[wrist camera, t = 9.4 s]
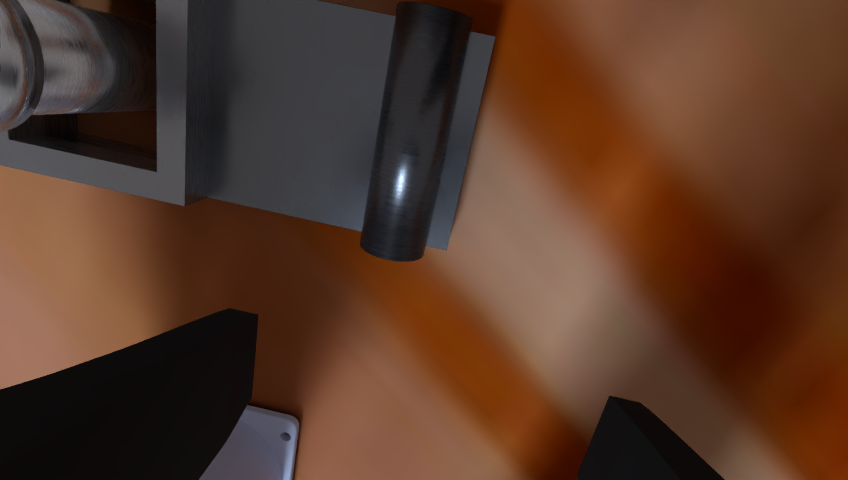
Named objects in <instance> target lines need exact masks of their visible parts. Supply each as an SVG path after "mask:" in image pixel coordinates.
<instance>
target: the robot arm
mask: <svg viewBox="0 0 848 480" xmlns="http://www.w3.org/2000/svg"><path fill="white" fill-rule="evenodd" d="M257 326H258V315H257V314H253V313H248V312H244V311H239V310H235V309H231V308H229V309H226V310H223V311H219V312H217V313H214V314H211V315H208V316H206V317H203V318H200V319H198V320H195V321H193V322H190V323H188V324H185V325H183V326H180V327H178V328H175V329H173V330H170V331H167V332H165V333H162V334H160V335H157V336H155V337H152V338H149V339H147V340H144V341H142V342H139V343H137V344H134V345H131V346H129V347H126V348H124V349H121V350H118V351H115V352H112V353H109V354H107V355H104V356H101V357H98V358H95V359H92V360H90V361H87V362H84V363H81V364H78V365H75V366H73V367H70V368H67V369H64V370H61V371H58V372H56V373H53V374H49V375H46V376H43V377H40V378H37V379H34V380H31V381H27V382H24V383H21V384H18V385H14V386H11V387H7V388H4V389H0V480H292V479H293V471H294V463H295V456H296V448H297V440H298V432H299V422H298V420H297V419H296V418H295V417H294V416H291V415H287V414H283V413H279V412H275V411H271V410H266V409H262V408H258V407H254V406H250V405H248V403H249V401H250V399H251V397H252V388H253V376H254V363H255V351H256V338H257ZM284 432H286V433H288V434H289V435H287V434H285V433H284ZM578 480H724V479H723V478H722V477H721V476H720V475H719V474H718V473H717V472H716V471H715V470H714V469H713V468H712V467H711V466H709V465H708V464H707V463H706V462H705V461H704V460H703V459H702V458H701V457H700V456H699V455H698V454H697V453H696V452H695V451H694V450H692V449H691V448H690V447H689V446H688V445H687V444H686V443H685V442H684V441H683V440H682V439H681V438H680V437H679V436H678V435H677V434H675V433H674V432H673V431H672V430H671V429H670V428H669V427H668V426H667V425H666V424H665V423H664V422H662V421H661V420H660V419H659V418H658V417H657V416H656V415H655V414H653V413H652V412H651V411H650V410H649V409H647V408H646V407H645V406H644V405H642V404H641V403H639V402H635V401H630V400H626V399H622V398H617V397H613V396H609V398H608V400H607V403H606V405H605V408H604V410H603V413H602V415H601V418H600V420H599V422H598V425H597V427H596V430H595V432H594V435H593V437H592V440H591V442H590V445H589V447H588V449H587V452H586V454H585V457H584V459H583V462H582V464H581V467H580V469H579V472H578Z"/></svg>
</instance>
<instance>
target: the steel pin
mask: <svg viewBox="0 0 848 480" xmlns="http://www.w3.org/2000/svg"><path fill="white" fill-rule="evenodd" d="M155 110H157V77H156V26H155V25H153V24H151V23H148V22H144V21H140V20H136V19H132V18H127V17H123V16H119V15H115V14H110V13H106V12H102V11H98V10H94V9H89V8H85V7H81V6H77V5H72V4H68V3H64V2H60V1H56V0H0V132H2V131H6V130H10V129H13V128H15V127H17V126H19V125H20V124H22V123H23V122H25V121H26V120H27V119H28V118H29V117H30V116H31V115H43V114H72V113H100V112H129V111H155Z"/></svg>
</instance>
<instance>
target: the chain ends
mask: <svg viewBox="0 0 848 480" xmlns="http://www.w3.org/2000/svg"><path fill="white" fill-rule="evenodd" d="M56 1H60V2H64V3H68V4H69V0H56ZM141 1H146V2H151V3H155V4H156V77H157V150H153V149H148V148H143V147H139V146H134V145H130V144H125V143H121V142H116V141H111V140H107V139H102V138H98V137H93V136H89V135H84V134H79V133H77V124H76V113H72V114H43V115H31V116H30V117H29V118H28V119H27V120H26V121H25V122H23V123H22V124H20V125H19V126H17V127H15V128H13V129H10V130H6V131H2V132H0V165H2V166H6V167H11V168H15V169H20V170H24V171H29V172H33V173H38V174H42V175H47V176H51V177H56V178H60V179H65V180H69V181H74V182H78V183H83V184H87V185H92V186H96V187H101V188H105V189H110V190H114V191H119V192H123V193H128V194H132V195H137V196H141V197H146V198H150V199H154V200H159V201H163V202H168V203H172V204H177V205H181V206H186V205H189V204H191V203H194V202H197V201H199V200H202V199H204V198H207V197H208V198H212V199H217V200H221V201H226V202H230V203H235V204H239V205H244V206H248V207H253V208H257V209H262V210H266V211H271V212H275V213H280V214H285V215H289V216H294V217H298V218H303V219H307V220H312V221H316V222H321V223H325V224H330V225H334V226H339V227H343V228H348V229H352V230H357V231H361V232H362V233H361V239H360V246H361V248H362V249H363V250H364V251H366V252H367V253H369V254H371V255H374V256H376V257H379V258H383V259H387V260H392V261H415V260H418V259H420V258H422V257H423V255H424V250H425V246H429V247H433V248H438V249H442V250H447V246H448V242H449V238H450V233H451V229H452V224H453V220H454V216H455V211H456V207H457V203H458V198H459V194H460V189H461V185H462V181H463V176H464V172H465V168H466V163H467V159H468V154H469V150H470V146H471V141H472V137H473V133H474V128H475V124H476V119H477V115H478V111H479V106H480V102H481V98H482V93H483V89H484V84H485V80H486V76H487V71H488V67H489V63H490V58H491V54H492V49H493V45H494V41H495V36H490V35H485V34H481V33H476V32H471V27H472V22H473V19H472V18H470V17H469V16H467V15H465V14H462V13H459V12H456V11H453V10H450V9H446V8H442V7H438V6H433V5H428V4H423V3H415V2H399V3H398V4H397V10H396V16H392V15H387V14H382V13H377V12H372V11H367V10H363V9H358V8H353V7H348V6H343V5H338V4H333V3H328V2H323V1H318V0H141Z"/></svg>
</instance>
